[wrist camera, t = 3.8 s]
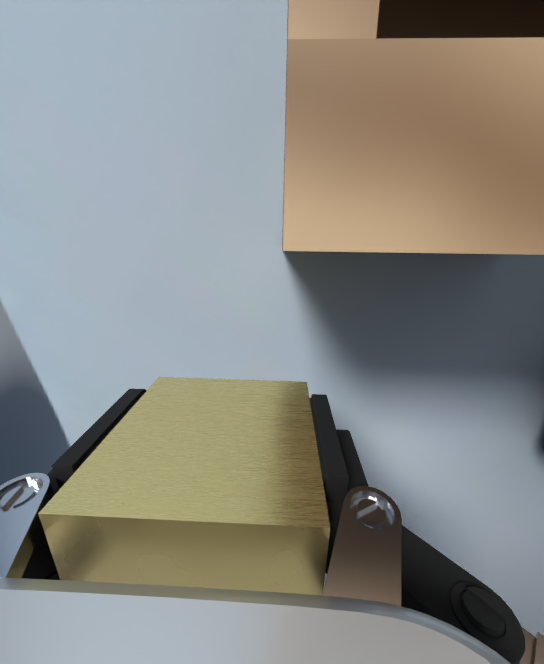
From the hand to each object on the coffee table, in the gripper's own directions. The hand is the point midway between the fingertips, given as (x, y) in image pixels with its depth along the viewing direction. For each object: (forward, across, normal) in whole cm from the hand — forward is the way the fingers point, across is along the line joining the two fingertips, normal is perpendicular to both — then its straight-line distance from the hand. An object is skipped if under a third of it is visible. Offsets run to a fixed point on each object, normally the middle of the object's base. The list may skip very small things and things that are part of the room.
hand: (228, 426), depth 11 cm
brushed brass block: (+1, 0, 0) cm, 1 cm away
